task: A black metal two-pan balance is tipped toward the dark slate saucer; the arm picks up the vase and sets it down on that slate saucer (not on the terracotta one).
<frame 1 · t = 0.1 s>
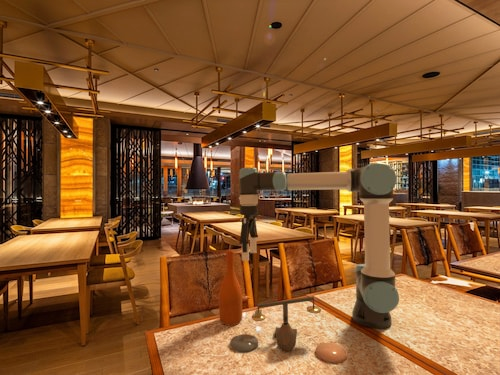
hand: (249, 256, 115), 28 cm above the table, fingers open, 13 cm apart
dish 1: (244, 344, 100), on the table
dish 2: (331, 353, 93), on the table
wine bottle: (230, 321, 118), on the table
vase: (286, 349, 97), on the table
balance: (285, 335, 106), on the table
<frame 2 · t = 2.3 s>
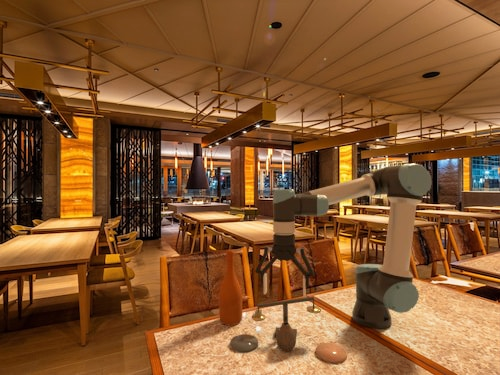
hand: (284, 294, 97), 19 cm above the table, fingers open, 13 cm apart
nothing on the table moved.
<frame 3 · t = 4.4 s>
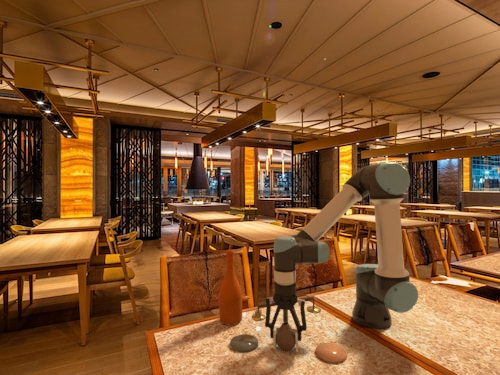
hand: (286, 348, 97), 0 cm above the table, fingers closed on vase, 7 cm apart
vase: (286, 349, 97), on the table, touching gripper
everything else where it was.
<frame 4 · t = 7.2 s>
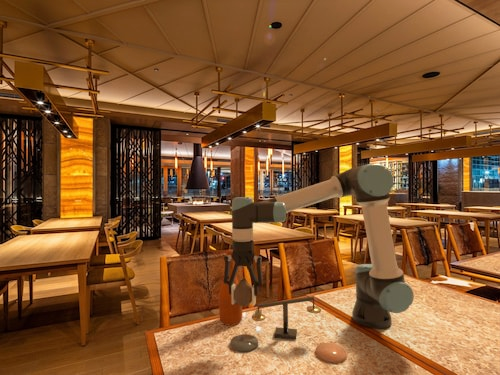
hand: (243, 303, 100), 15 cm above the table, fingers closed on vase, 7 cm apart
vase: (243, 304, 100), point 14 cm above the table, touching gripper
everything else where it was.
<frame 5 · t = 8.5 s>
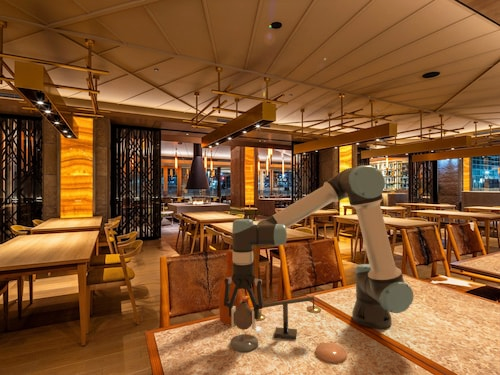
hand: (243, 326, 100), 6 cm above the table, fingers closed on vase, 7 cm apart
vase: (243, 327, 100), point 6 cm above the table, touching gripper
everything else where it was.
when the fingers open (2 cm above the table, at t = 9.6 s): vase drops 1 cm, resting on dish 1.
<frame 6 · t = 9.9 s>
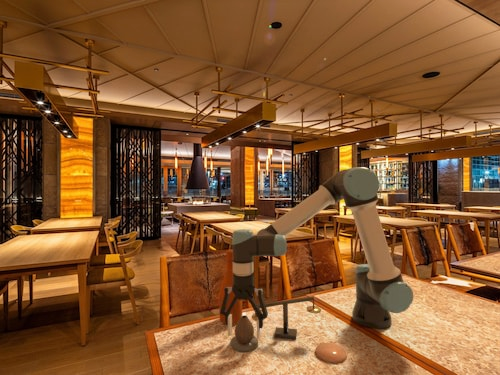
hand: (244, 335, 100), 3 cm above the table, fingers open, 10 cm apart
vase: (244, 341, 100), point 1 cm above the table, touching dish 1
everything else where it was.
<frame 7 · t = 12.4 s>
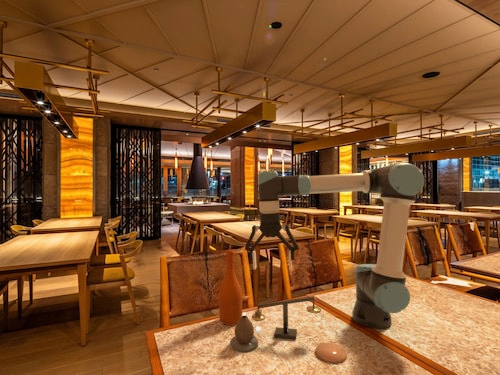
hand: (272, 268, 105), 26 cm above the table, fingers open, 13 cm apart
nothing on the table moved.
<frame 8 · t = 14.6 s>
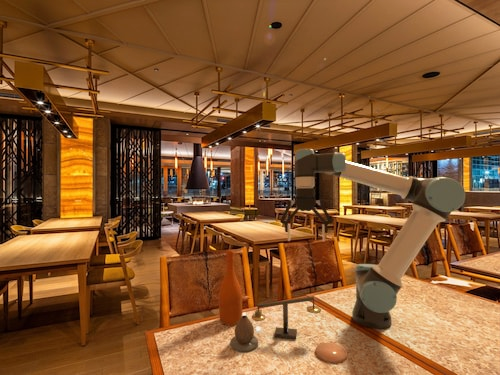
hand: (306, 240, 112), 35 cm above the table, fingers open, 13 cm apart
nothing on the table moved.
at the end: vase inside the target area on the dish 1 (0.1 cm from its centre), point 0.8 cm above the dish 1's base; vase tilted 0°; the gripper is holding nothing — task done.
